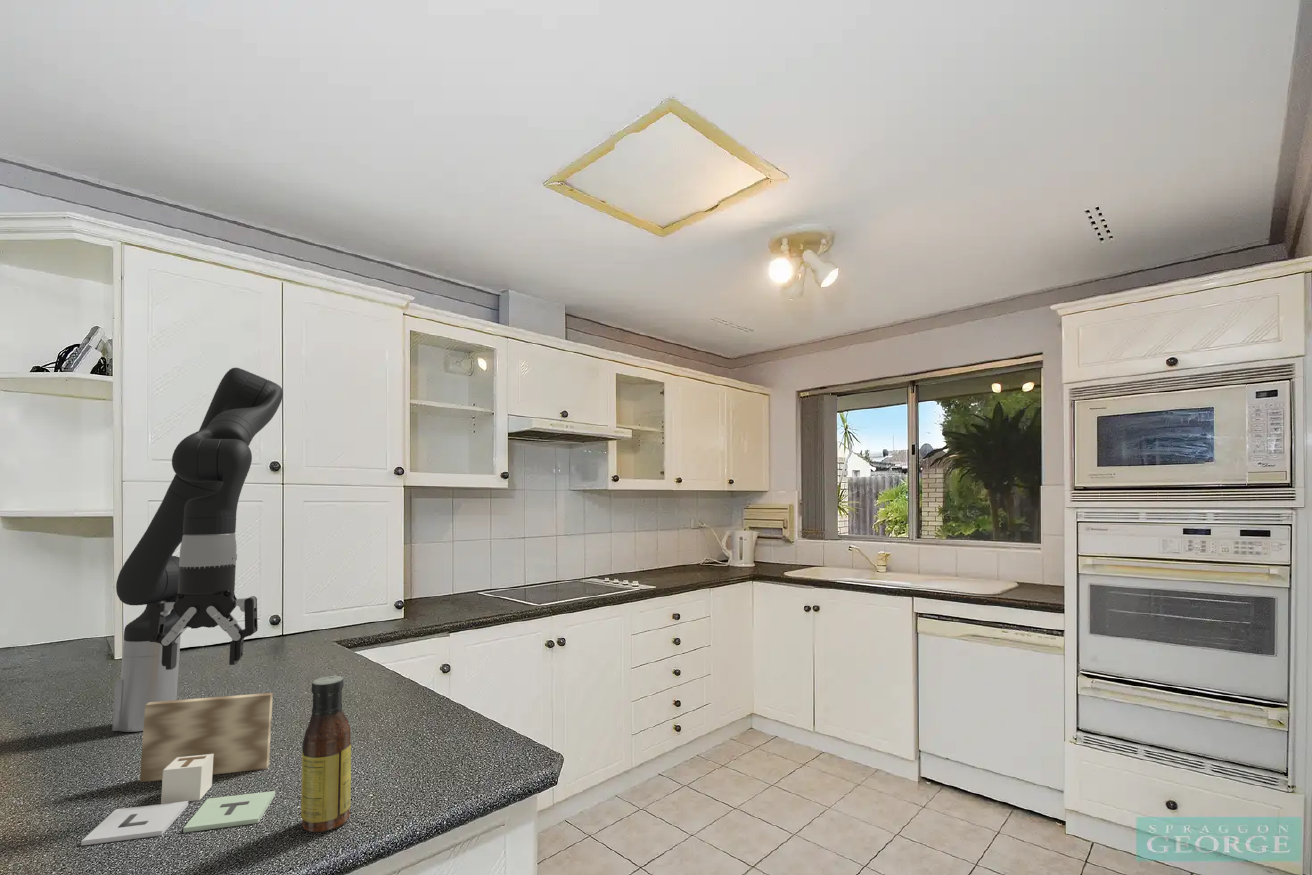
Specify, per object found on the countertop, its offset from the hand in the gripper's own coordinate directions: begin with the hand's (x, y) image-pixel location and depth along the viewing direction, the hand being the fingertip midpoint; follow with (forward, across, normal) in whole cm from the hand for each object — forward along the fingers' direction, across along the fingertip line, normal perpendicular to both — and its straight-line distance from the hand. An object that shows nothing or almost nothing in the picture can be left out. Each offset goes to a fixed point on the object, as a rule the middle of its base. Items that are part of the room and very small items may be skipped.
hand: (202, 666), depth 103 cm
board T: (+19, +7, -10) cm, 23 cm away
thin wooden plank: (+19, -1, +7) cm, 20 cm away
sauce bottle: (+20, +21, -17) cm, 33 cm away
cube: (+19, -1, -1) cm, 19 cm away
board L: (+19, -4, -9) cm, 22 cm away
